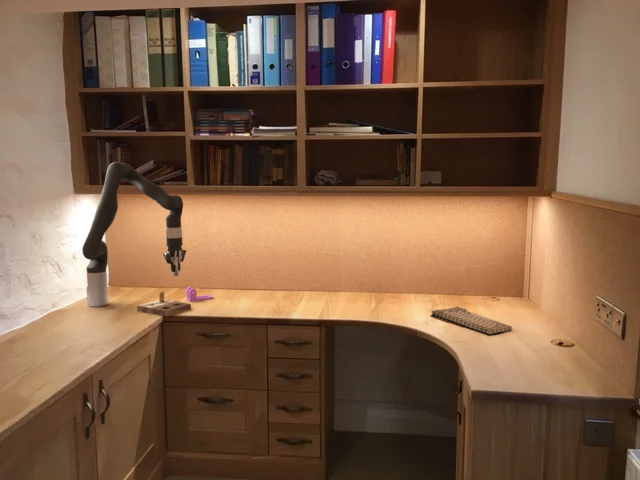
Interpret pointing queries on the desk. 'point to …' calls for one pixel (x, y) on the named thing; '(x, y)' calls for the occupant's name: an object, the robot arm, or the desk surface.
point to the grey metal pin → (176, 267)
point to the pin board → (163, 307)
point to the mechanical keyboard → (470, 321)
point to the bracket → (193, 295)
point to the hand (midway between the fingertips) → (175, 271)
